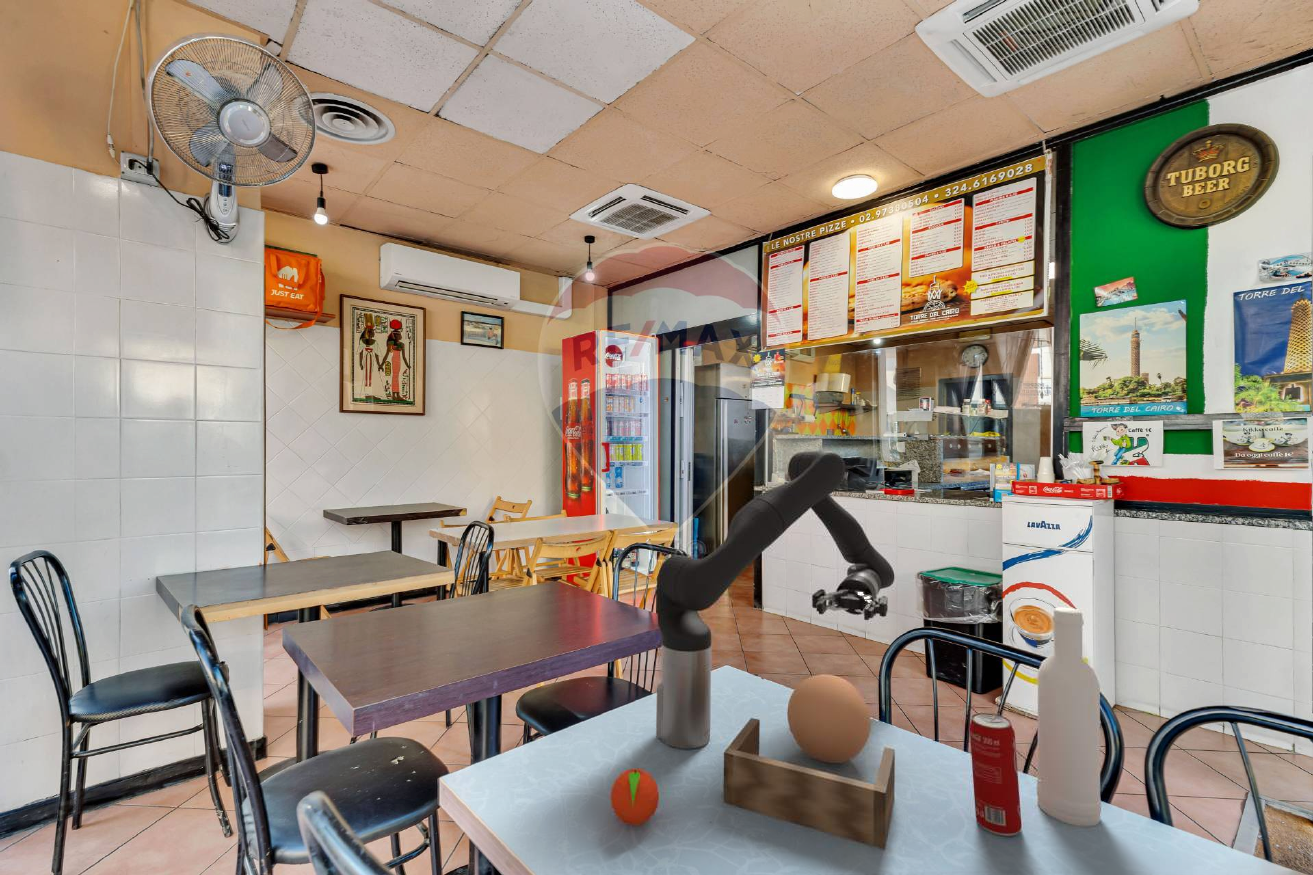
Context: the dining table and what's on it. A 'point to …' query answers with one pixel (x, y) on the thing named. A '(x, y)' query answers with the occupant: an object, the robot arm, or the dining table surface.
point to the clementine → (634, 796)
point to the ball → (829, 718)
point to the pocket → (809, 792)
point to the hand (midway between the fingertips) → (842, 611)
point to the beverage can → (995, 774)
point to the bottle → (1068, 728)
